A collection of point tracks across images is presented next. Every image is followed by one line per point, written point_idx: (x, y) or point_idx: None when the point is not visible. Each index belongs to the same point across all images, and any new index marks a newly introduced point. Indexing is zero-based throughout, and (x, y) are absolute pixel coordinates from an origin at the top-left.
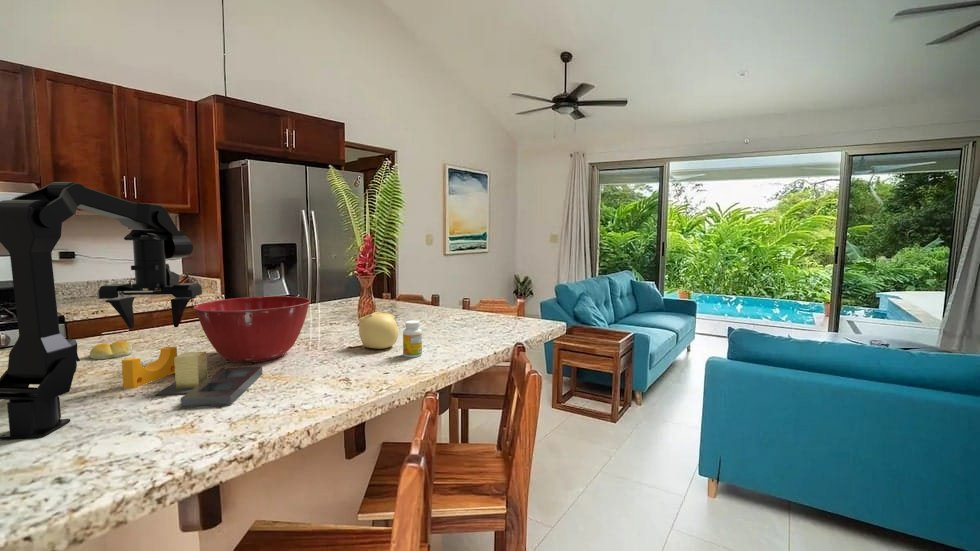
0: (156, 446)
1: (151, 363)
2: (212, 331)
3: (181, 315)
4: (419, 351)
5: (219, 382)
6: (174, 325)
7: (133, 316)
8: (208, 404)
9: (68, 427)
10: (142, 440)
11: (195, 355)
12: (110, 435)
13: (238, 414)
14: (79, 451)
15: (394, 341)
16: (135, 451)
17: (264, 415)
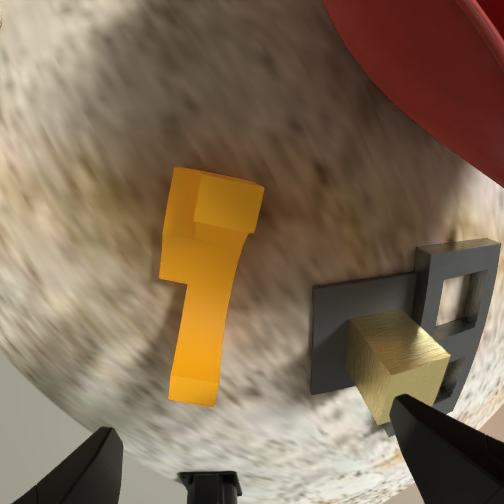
0: (380, 480)
1: (174, 236)
2: (464, 150)
3: (463, 435)
4: None
5: None
6: (396, 427)
7: (82, 482)
8: None
9: (248, 478)
10: (363, 479)
11: (427, 397)
12: (322, 482)
13: None
14: (310, 499)
15: None
16: (364, 488)
17: (471, 411)
